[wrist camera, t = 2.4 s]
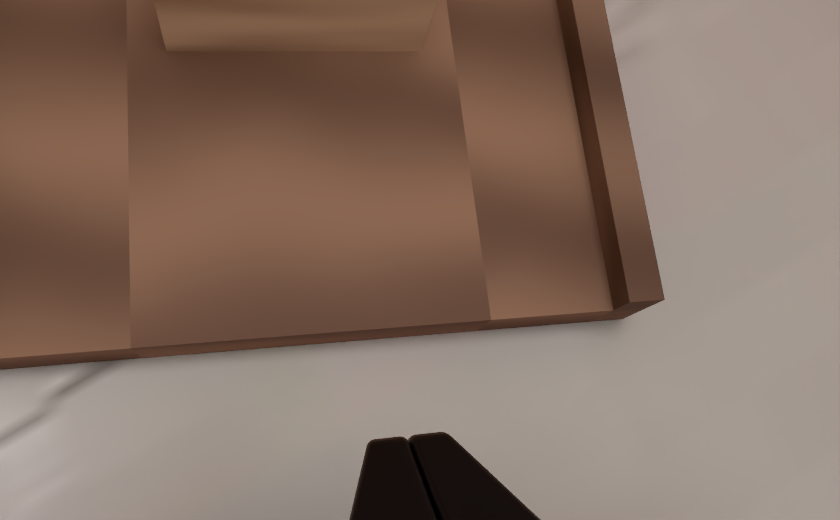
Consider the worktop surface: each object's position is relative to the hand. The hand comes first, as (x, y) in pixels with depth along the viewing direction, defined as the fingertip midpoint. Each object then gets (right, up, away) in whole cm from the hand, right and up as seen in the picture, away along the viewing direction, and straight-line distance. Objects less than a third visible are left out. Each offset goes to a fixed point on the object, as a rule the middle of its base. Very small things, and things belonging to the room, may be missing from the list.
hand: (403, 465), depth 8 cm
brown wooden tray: (-4, +12, +16) cm, 20 cm away
